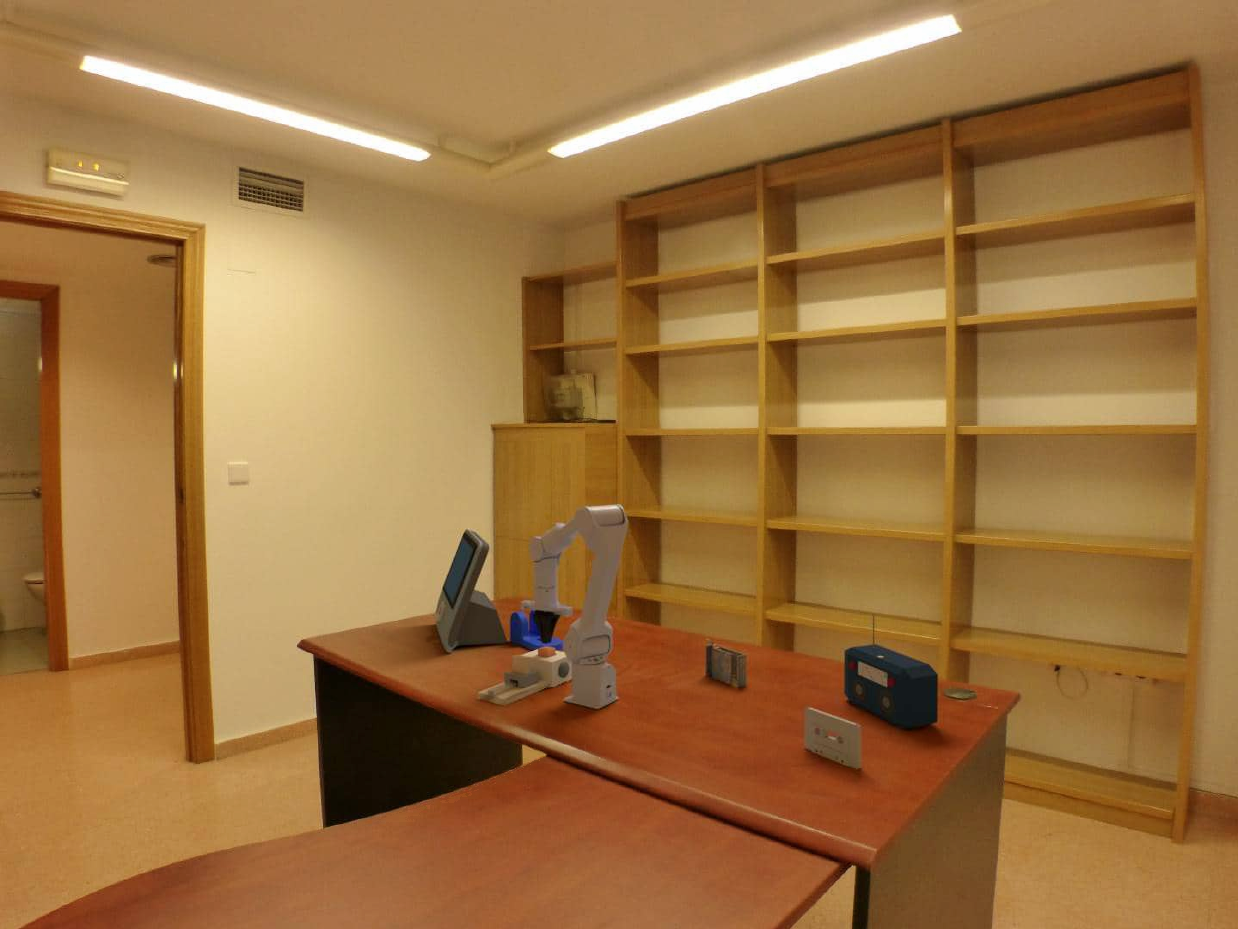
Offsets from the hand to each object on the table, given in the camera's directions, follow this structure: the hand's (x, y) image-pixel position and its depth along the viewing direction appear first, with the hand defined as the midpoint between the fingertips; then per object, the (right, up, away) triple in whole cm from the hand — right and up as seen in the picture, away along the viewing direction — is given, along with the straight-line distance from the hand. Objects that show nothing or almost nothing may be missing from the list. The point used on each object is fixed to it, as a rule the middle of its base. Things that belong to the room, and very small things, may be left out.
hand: (546, 642), depth 186 cm
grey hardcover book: (+43, -9, -1) cm, 44 cm away
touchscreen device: (-27, -8, +42) cm, 50 cm away
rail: (-7, -8, -9) cm, 14 cm away
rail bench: (-7, -9, -9) cm, 15 cm away
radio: (+73, -10, -24) cm, 78 cm away
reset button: (0, -3, 0) cm, 3 cm away
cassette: (+56, -11, -46) cm, 73 cm away
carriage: (-5, -8, -7) cm, 12 cm away
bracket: (-5, -8, +31) cm, 32 cm away
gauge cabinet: (0, -9, 0) cm, 9 cm away
